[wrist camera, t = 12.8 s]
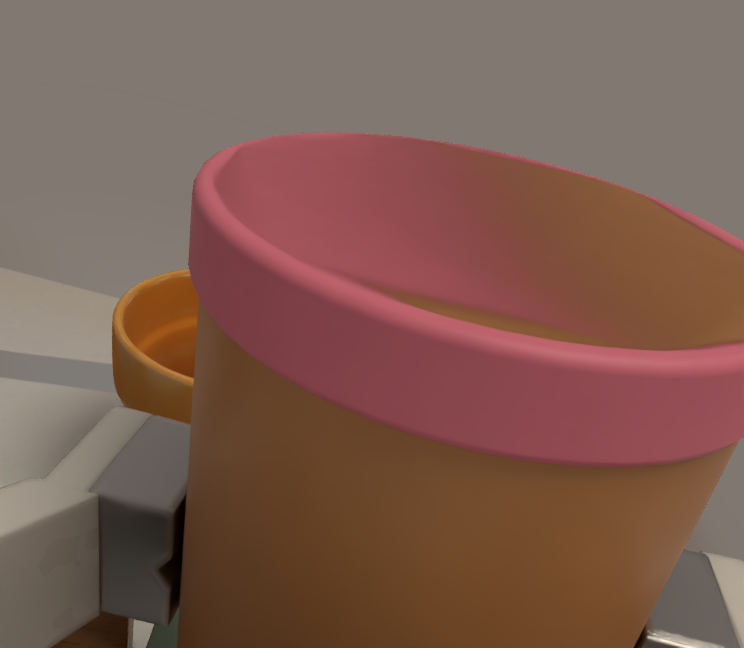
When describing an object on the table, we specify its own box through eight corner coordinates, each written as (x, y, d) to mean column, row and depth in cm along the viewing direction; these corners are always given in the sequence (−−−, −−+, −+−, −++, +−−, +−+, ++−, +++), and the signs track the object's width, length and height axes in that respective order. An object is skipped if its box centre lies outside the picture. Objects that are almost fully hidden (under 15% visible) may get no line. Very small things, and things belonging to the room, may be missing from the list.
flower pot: (357, 598, 38) (405, 403, 32) (84, 594, 35) (84, 379, 29) (333, 440, 51) (365, 279, 45) (129, 427, 48) (135, 252, 42)
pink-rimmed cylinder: (529, 1085, 8) (1001, 423, 4) (100, 1046, 8) (85, 276, 4) (478, 691, 13) (669, 180, 9) (203, 657, 13) (252, 105, 8)
